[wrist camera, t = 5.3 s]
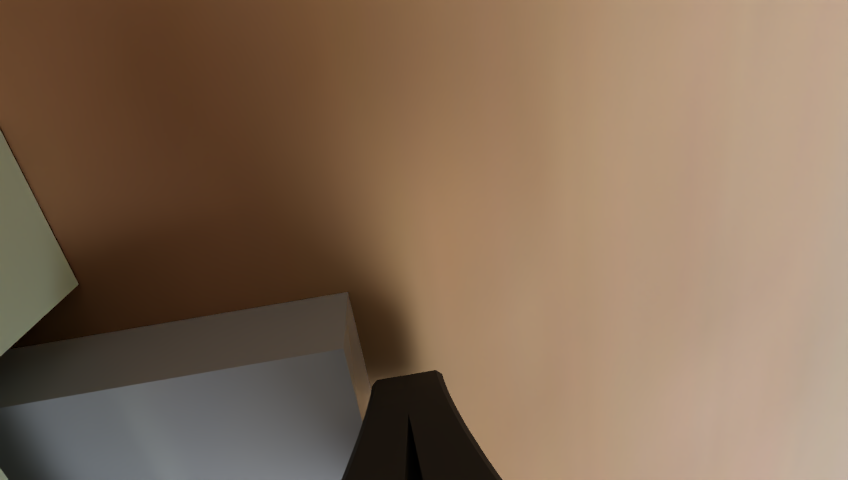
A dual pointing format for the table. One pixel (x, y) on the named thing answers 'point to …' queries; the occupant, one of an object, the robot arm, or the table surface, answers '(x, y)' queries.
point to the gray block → (191, 399)
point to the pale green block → (26, 258)
